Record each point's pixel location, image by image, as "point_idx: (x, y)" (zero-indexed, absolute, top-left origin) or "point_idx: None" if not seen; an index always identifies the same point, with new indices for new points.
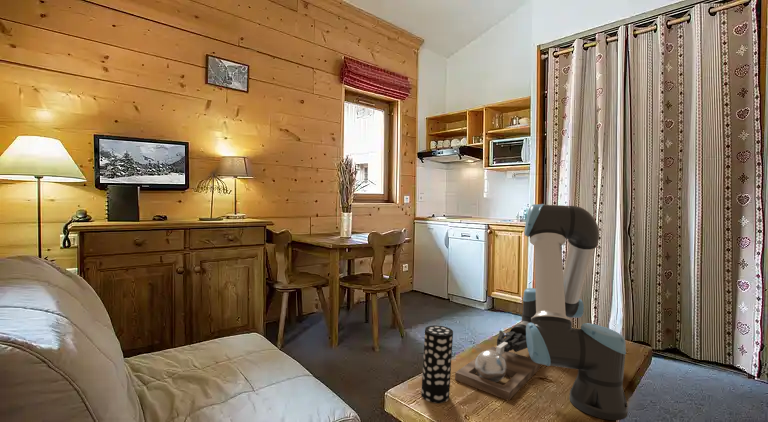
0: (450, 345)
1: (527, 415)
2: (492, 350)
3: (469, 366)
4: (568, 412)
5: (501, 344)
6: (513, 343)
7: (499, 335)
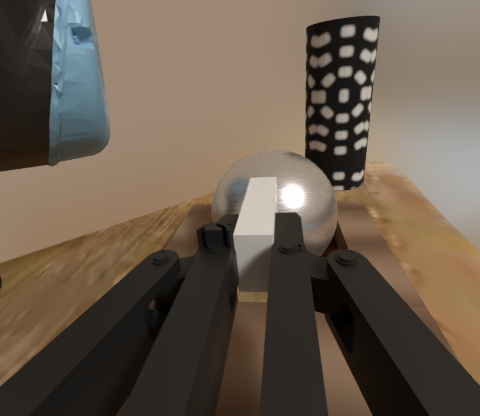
0: (306, 58)
1: (155, 211)
2: (273, 158)
3: (364, 236)
4: (44, 254)
5: (266, 200)
6: (187, 285)
7: (460, 375)
